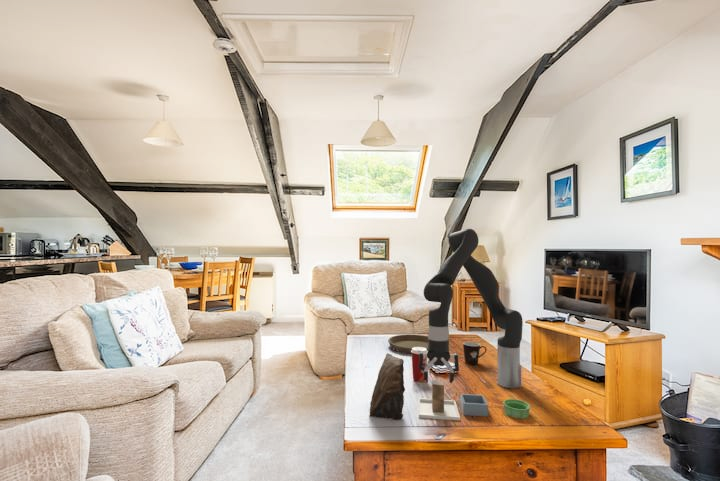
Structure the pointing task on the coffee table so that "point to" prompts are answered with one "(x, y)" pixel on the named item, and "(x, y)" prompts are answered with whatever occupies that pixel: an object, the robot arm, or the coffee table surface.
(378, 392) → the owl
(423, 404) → the cream tray
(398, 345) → the plant saucer
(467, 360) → the coffee mug
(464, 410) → the blue-grey open box
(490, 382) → the coffee table surface
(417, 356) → the paper cup
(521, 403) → the ramekin
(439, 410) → the walnut peg
